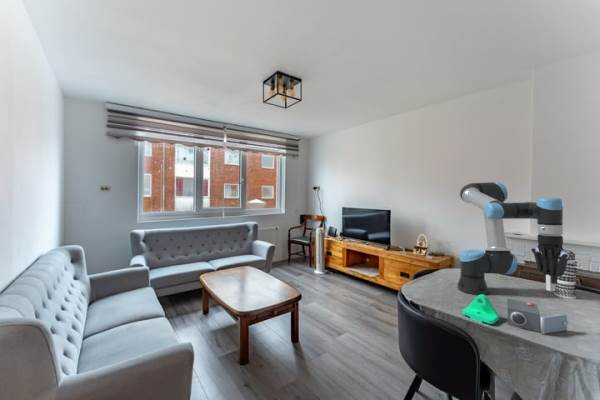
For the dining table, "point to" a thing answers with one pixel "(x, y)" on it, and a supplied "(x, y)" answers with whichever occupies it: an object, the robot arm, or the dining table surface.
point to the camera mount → (481, 310)
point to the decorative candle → (567, 279)
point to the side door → (553, 323)
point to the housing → (523, 315)
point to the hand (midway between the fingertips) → (550, 290)
